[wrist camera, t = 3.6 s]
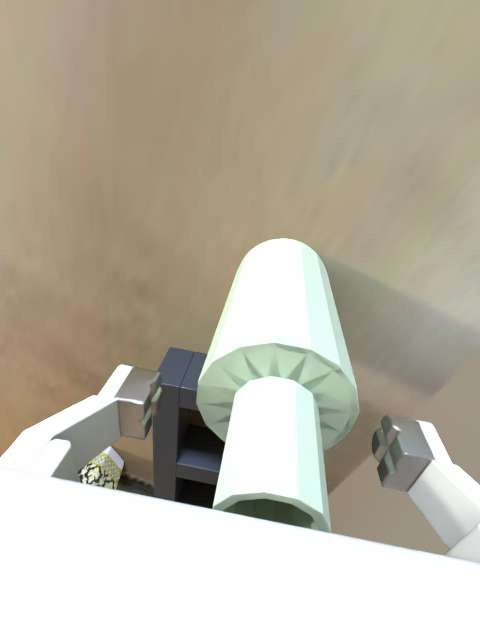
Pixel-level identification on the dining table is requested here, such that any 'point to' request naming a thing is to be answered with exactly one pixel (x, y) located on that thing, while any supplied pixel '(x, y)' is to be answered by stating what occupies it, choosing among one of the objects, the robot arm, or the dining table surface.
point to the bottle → (278, 387)
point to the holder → (184, 436)
